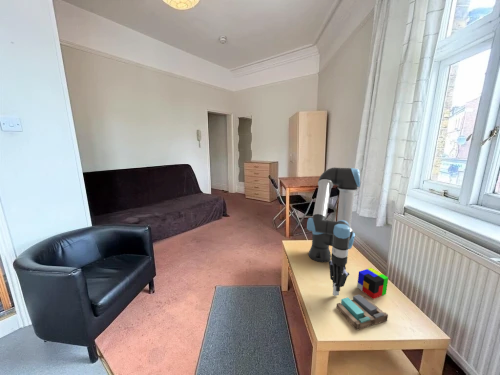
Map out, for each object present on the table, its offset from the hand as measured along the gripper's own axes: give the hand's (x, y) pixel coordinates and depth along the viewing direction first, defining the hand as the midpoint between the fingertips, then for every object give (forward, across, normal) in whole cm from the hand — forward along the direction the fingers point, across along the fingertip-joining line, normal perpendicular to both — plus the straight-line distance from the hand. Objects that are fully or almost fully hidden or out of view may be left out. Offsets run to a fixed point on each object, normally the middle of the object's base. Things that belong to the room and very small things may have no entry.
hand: (335, 294), depth 110 cm
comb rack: (+1, +13, +4) cm, 14 cm away
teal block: (+1, +11, 0) cm, 11 cm away
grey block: (+1, +11, +8) cm, 14 cm away
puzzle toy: (+2, +2, +22) cm, 22 cm away
